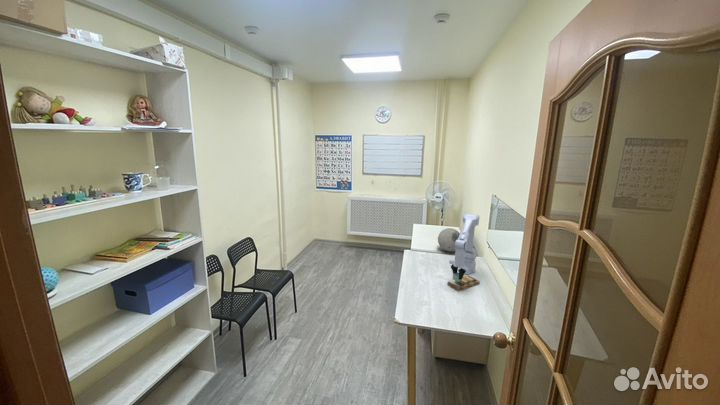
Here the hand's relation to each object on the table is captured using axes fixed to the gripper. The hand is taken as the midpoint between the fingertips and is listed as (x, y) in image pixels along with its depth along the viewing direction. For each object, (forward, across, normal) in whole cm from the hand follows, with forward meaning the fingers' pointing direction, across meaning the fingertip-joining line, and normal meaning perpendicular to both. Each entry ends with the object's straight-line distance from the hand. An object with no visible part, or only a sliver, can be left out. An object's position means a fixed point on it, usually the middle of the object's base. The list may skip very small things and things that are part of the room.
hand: (457, 277), depth 176 cm
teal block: (+2, 0, 0) cm, 2 cm away
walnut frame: (+6, +1, +6) cm, 8 cm away
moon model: (+6, -46, +41) cm, 62 cm away
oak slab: (+7, -2, +9) cm, 11 cm away
